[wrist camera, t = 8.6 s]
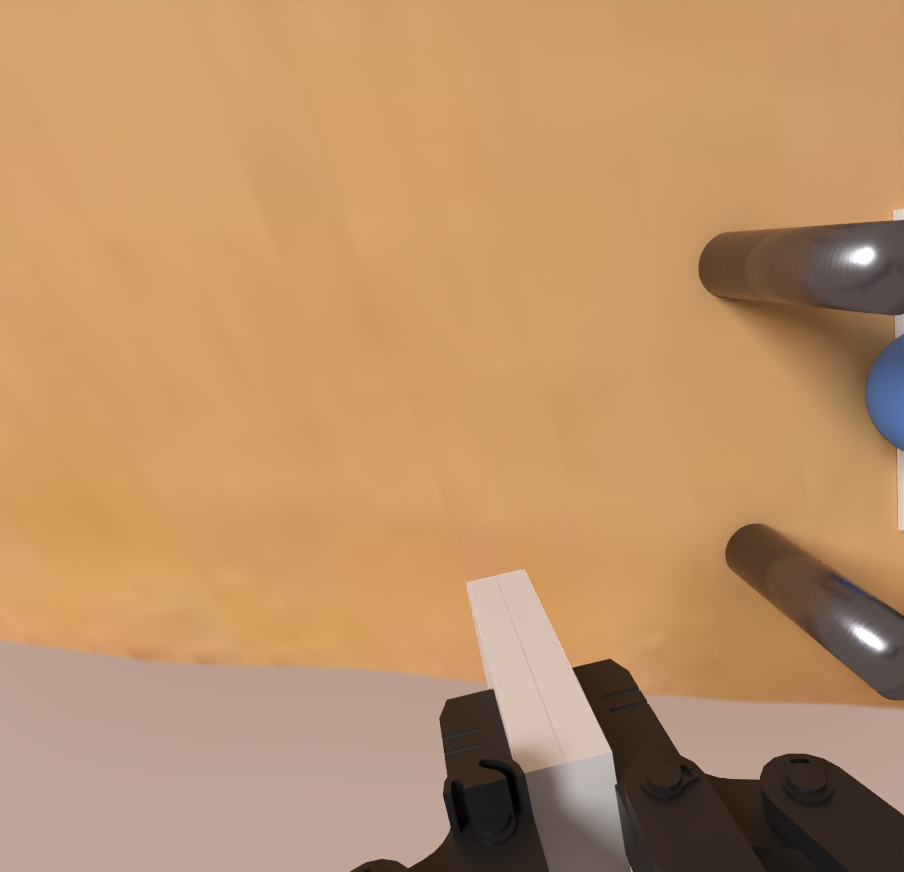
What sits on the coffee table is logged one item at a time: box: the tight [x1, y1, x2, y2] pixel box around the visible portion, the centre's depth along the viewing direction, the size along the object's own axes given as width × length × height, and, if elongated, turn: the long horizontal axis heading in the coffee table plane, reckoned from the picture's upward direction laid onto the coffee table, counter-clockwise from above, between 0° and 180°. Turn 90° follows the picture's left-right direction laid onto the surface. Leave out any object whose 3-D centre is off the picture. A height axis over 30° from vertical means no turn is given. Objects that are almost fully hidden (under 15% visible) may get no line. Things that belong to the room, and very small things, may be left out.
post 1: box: [699, 220, 904, 315], centre depth 23 cm, size 2×2×9 cm
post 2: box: [725, 524, 904, 700], centre depth 26 cm, size 2×2×9 cm
